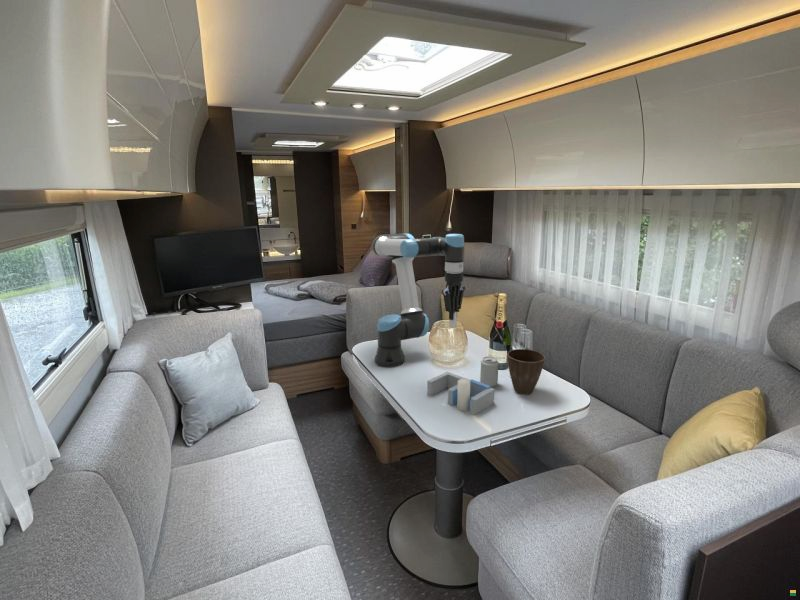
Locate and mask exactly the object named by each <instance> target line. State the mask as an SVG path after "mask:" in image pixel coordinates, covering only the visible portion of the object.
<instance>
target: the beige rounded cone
mask: <svg viewBox="0 0 800 600" xmlns="http://www.w3.org/2000/svg"><path fill="white" fill-rule="evenodd" d="M467 379H468V378H466V379H460V380H458V394H457V403H456V405H457V406H456V408H457V410H458V411H465V412H466V411H470V398H471V396H470V380H471V379H469V380H467Z"/></svg>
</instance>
